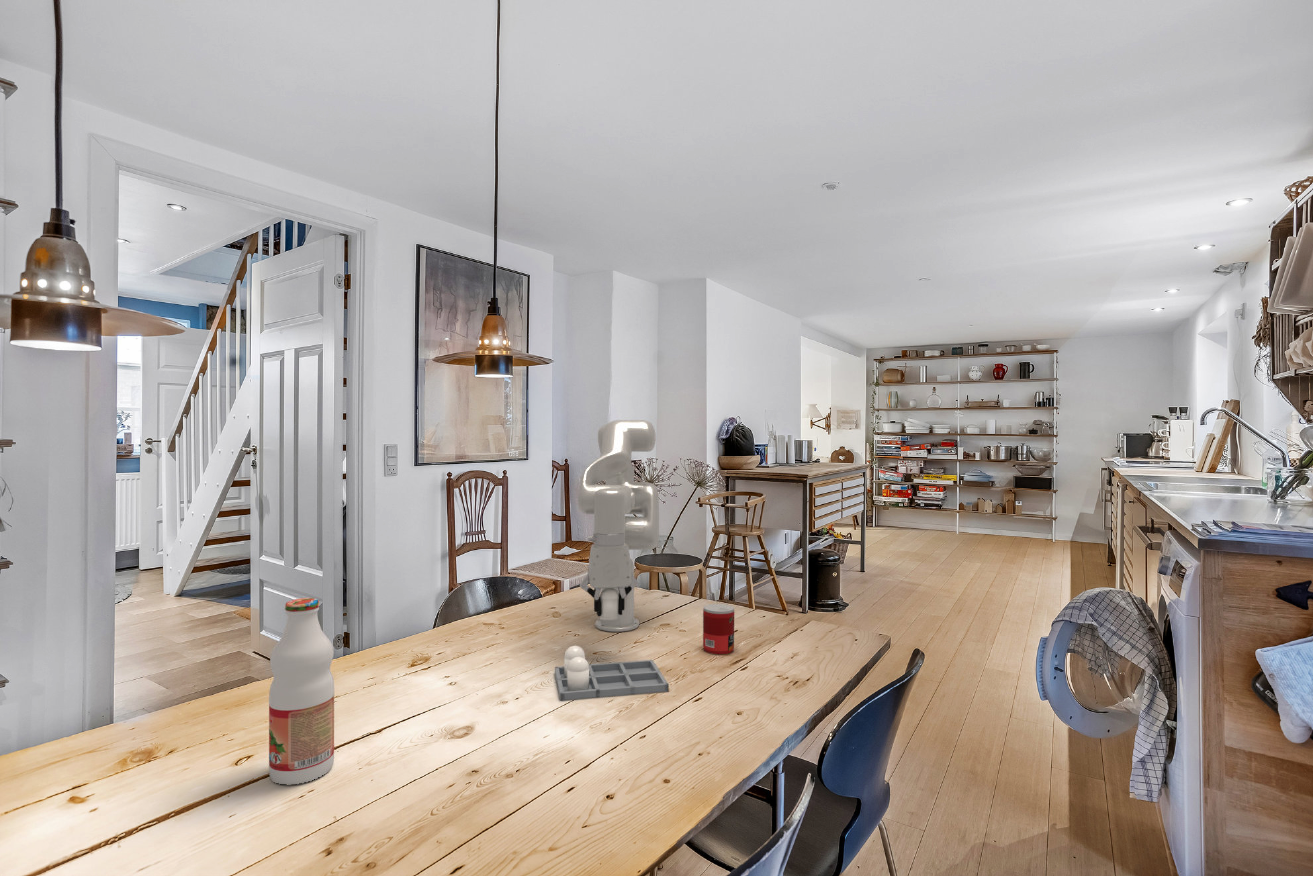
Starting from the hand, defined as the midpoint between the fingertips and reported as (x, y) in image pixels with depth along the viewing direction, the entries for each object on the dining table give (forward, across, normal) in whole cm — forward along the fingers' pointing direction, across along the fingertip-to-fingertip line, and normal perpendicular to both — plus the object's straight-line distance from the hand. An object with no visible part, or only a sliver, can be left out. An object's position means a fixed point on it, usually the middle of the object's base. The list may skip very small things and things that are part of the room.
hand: (609, 613), depth 159 cm
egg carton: (+11, -2, -15) cm, 19 cm away
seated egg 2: (+11, -10, -18) cm, 23 cm away
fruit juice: (+11, -57, -41) cm, 71 cm away
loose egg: (+1, 0, 0) cm, 1 cm away
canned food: (+12, +29, +2) cm, 31 cm away
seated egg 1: (+11, -10, -11) cm, 18 cm away
